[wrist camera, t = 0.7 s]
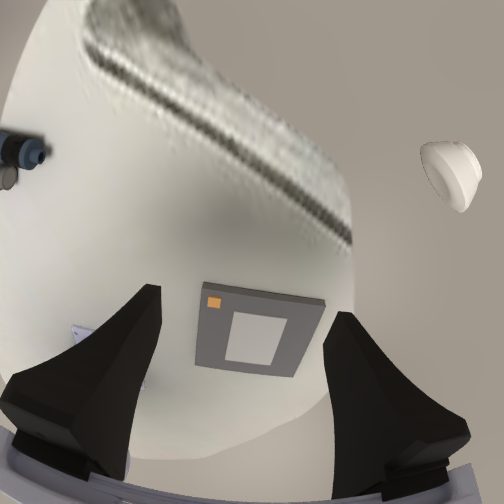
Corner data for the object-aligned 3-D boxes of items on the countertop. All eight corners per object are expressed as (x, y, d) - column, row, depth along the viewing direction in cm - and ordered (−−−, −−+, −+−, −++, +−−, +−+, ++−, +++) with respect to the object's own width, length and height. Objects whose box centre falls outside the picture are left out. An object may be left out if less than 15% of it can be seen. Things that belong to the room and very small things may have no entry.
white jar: (407, 141, 18) (445, 160, 13) (436, 122, 17) (478, 137, 12) (432, 197, 20) (467, 227, 15) (459, 178, 19) (497, 204, 14)
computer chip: (292, 371, 30) (293, 378, 29) (196, 359, 29) (194, 366, 28) (324, 300, 25) (326, 308, 24) (203, 281, 24) (201, 289, 23)
